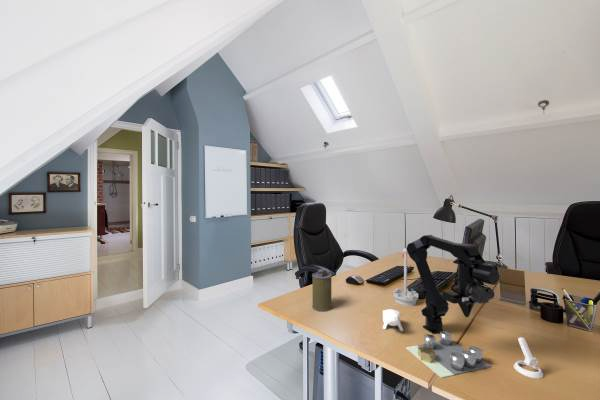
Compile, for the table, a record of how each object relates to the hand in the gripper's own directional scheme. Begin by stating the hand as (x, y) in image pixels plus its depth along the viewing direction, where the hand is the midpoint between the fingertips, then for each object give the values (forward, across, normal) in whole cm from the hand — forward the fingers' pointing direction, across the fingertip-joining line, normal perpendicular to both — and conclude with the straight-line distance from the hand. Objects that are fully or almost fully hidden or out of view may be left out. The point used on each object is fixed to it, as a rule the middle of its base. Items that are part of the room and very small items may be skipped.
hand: (466, 316), depth 106 cm
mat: (+12, -13, -3) cm, 18 cm away
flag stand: (+12, +6, +45) cm, 47 cm away
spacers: (+12, -9, -3) cm, 15 cm away
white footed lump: (+12, -18, +22) cm, 31 cm away
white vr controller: (+12, +8, -17) cm, 22 cm away
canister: (+12, -41, +51) cm, 67 cm away
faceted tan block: (+12, -20, -2) cm, 24 cm away
